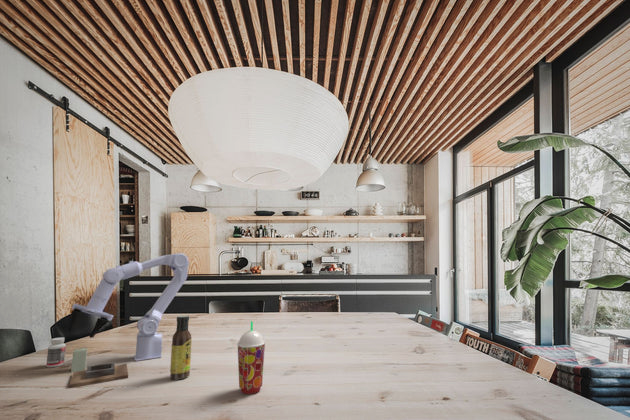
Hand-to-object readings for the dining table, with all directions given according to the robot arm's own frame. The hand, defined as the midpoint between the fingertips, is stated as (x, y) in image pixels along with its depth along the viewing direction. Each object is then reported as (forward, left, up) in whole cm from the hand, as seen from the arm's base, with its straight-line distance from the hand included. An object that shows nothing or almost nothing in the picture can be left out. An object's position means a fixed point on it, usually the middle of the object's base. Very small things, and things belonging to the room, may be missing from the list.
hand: (80, 334), depth 121 cm
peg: (0, +1, -12) cm, 12 cm away
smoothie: (-46, +54, -13) cm, 72 cm away
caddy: (-7, +14, -12) cm, 20 cm away
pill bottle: (+8, -10, -13) cm, 18 cm away
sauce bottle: (-30, +30, -13) cm, 44 cm away
